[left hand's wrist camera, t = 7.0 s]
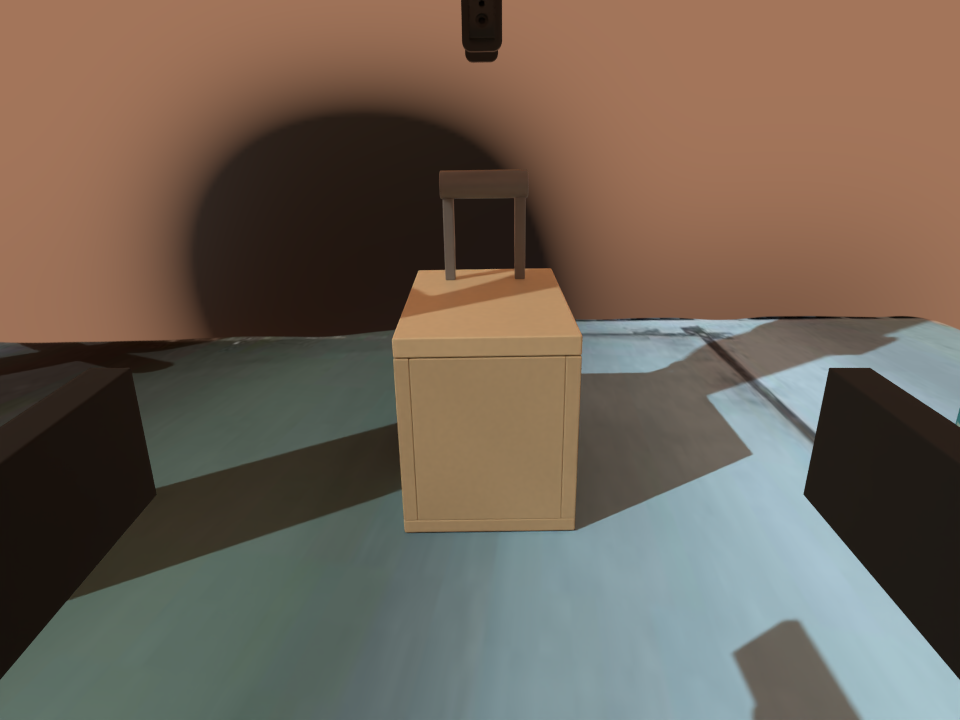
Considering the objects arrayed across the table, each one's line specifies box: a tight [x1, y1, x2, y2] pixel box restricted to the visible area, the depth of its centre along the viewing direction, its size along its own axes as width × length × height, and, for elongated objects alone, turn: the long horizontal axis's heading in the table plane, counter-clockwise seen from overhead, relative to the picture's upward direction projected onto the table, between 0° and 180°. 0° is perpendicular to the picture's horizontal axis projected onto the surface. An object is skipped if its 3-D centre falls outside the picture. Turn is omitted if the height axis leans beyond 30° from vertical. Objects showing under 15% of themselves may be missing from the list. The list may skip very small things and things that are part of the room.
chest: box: [393, 355, 582, 532], centre depth 43 cm, size 15×10×11 cm, turn 0°
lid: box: [392, 170, 582, 358], centre depth 40 cm, size 16×10×8 cm, turn 0°
